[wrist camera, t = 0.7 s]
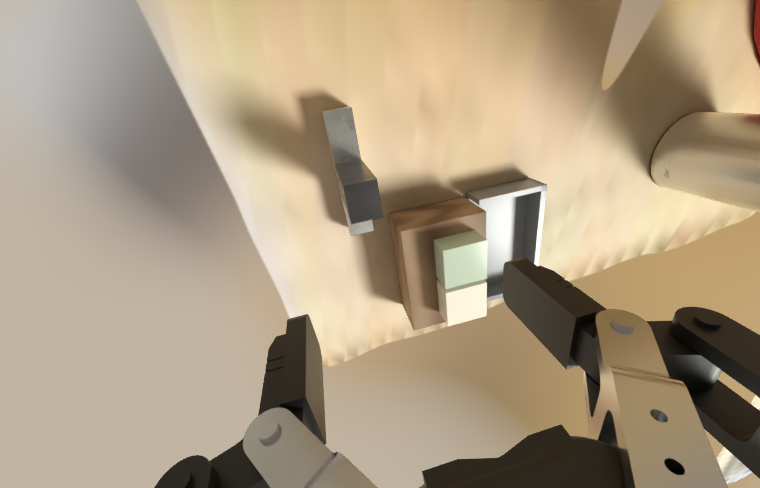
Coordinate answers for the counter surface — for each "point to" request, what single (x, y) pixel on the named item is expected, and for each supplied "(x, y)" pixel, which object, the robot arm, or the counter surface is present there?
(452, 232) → the walnut riser
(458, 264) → the sage tile
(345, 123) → the grey l-shaped bracket
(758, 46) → the stand mixer
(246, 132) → the counter surface
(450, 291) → the cream tile
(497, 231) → the grey tray
